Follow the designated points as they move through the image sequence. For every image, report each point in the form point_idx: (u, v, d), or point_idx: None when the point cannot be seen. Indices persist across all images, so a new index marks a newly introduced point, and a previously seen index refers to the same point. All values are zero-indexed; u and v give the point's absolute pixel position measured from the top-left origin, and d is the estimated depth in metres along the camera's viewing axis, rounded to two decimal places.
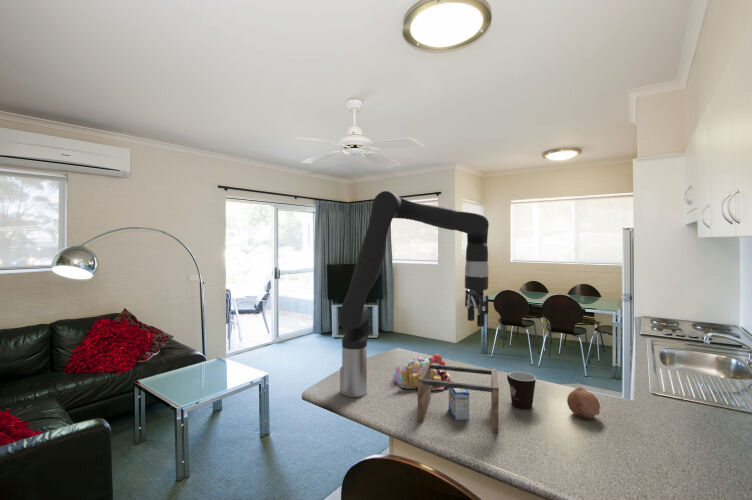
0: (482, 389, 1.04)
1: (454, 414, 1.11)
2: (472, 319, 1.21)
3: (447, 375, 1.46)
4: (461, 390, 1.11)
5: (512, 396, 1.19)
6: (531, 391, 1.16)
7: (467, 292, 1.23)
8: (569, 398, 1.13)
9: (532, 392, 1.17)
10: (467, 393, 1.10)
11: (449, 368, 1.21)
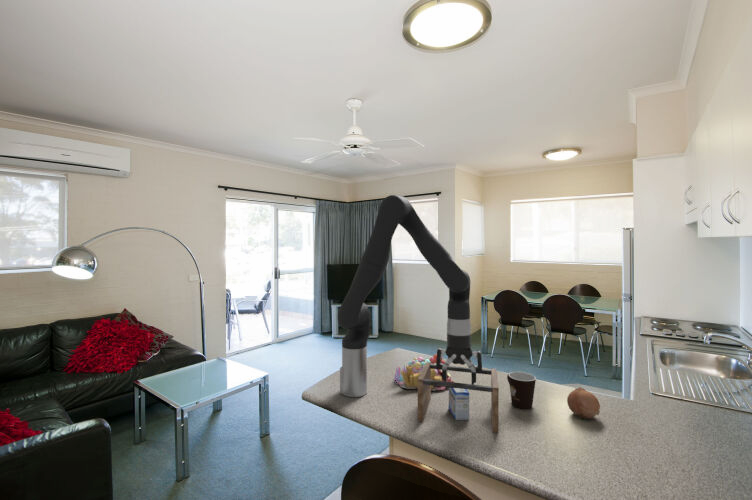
0: (482, 389, 1.04)
1: (454, 414, 1.11)
2: (446, 379, 1.15)
3: (448, 375, 1.46)
4: (461, 390, 1.11)
5: (512, 396, 1.19)
6: (531, 391, 1.16)
7: (440, 351, 1.14)
8: (569, 398, 1.13)
9: (532, 392, 1.17)
10: (467, 393, 1.10)
11: (449, 368, 1.21)
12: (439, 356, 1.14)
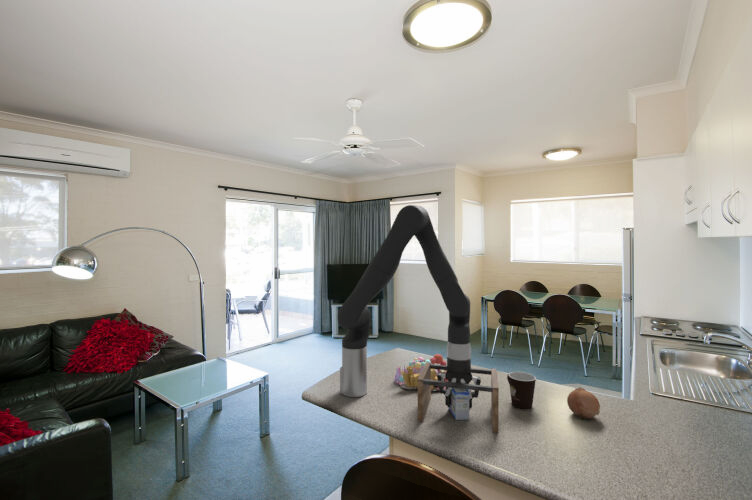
0: (482, 389, 1.04)
1: (454, 414, 1.11)
2: None
3: None
4: (461, 390, 1.11)
5: (512, 396, 1.19)
6: (531, 391, 1.16)
7: (440, 377, 1.14)
8: (569, 398, 1.13)
9: (532, 392, 1.17)
10: (467, 393, 1.10)
11: None
12: None
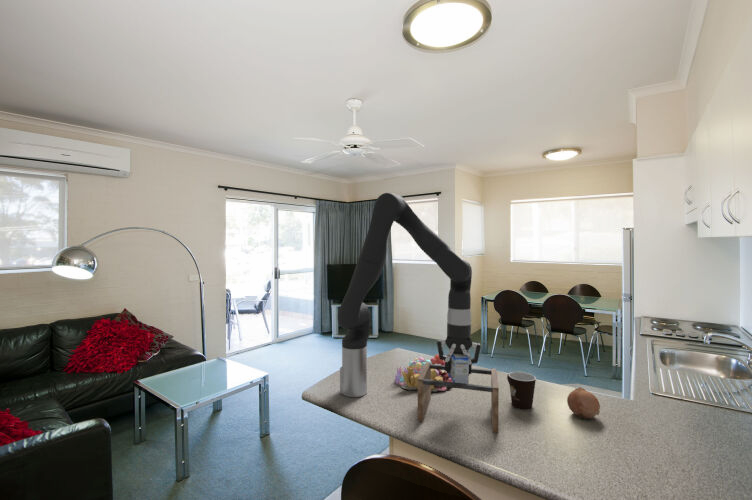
0: (482, 389, 1.04)
1: (453, 379, 1.11)
2: (449, 371, 1.15)
3: None
4: (460, 356, 1.11)
5: (512, 396, 1.19)
6: (531, 391, 1.16)
7: (440, 343, 1.14)
8: (569, 398, 1.13)
9: (532, 392, 1.17)
10: (467, 358, 1.10)
11: None
12: (440, 348, 1.14)
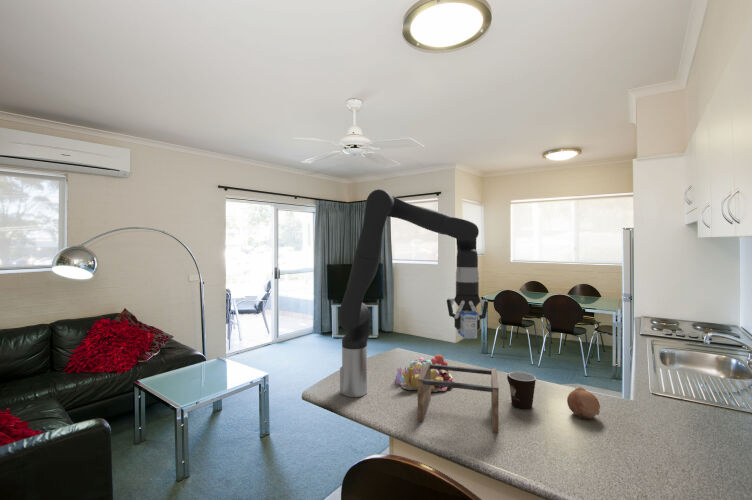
0: (482, 389, 1.04)
1: (463, 334, 1.17)
2: None
3: (449, 376, 1.45)
4: (469, 311, 1.17)
5: (512, 396, 1.19)
6: (531, 391, 1.16)
7: (450, 301, 1.21)
8: (569, 398, 1.13)
9: (532, 392, 1.17)
10: (475, 313, 1.16)
11: (449, 368, 1.21)
12: (450, 305, 1.21)
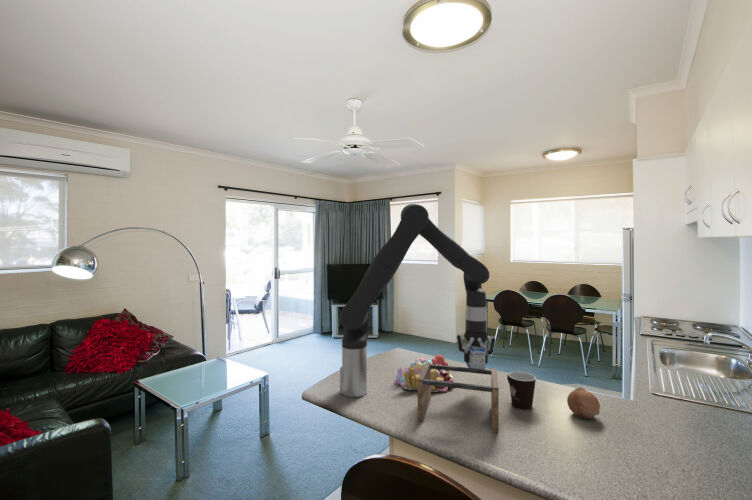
0: (482, 389, 1.04)
1: None
2: None
3: (450, 376, 1.45)
4: (478, 348, 1.27)
5: (512, 396, 1.19)
6: (531, 391, 1.16)
7: (460, 337, 1.31)
8: (569, 398, 1.13)
9: (532, 392, 1.17)
10: (483, 349, 1.26)
11: (449, 368, 1.21)
12: (460, 341, 1.31)
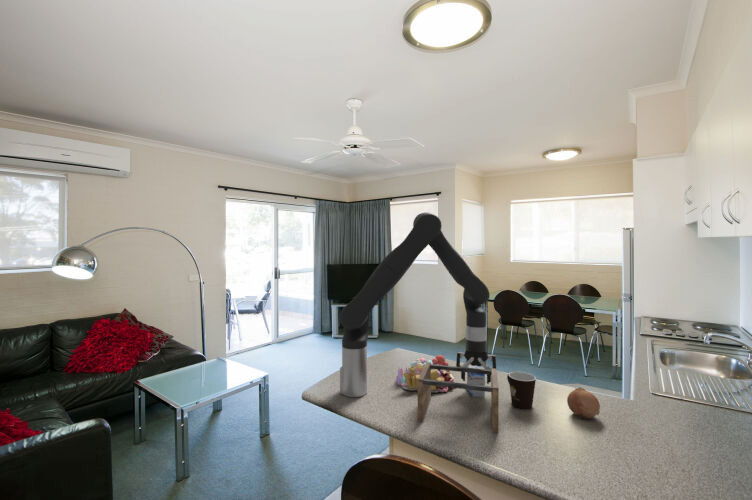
0: (482, 389, 1.04)
1: (471, 392, 1.28)
2: None
3: (450, 376, 1.44)
4: None
5: (512, 396, 1.19)
6: (531, 391, 1.16)
7: (460, 355, 1.31)
8: (569, 398, 1.13)
9: (532, 392, 1.17)
10: (483, 374, 1.26)
11: (449, 368, 1.21)
12: (459, 359, 1.31)
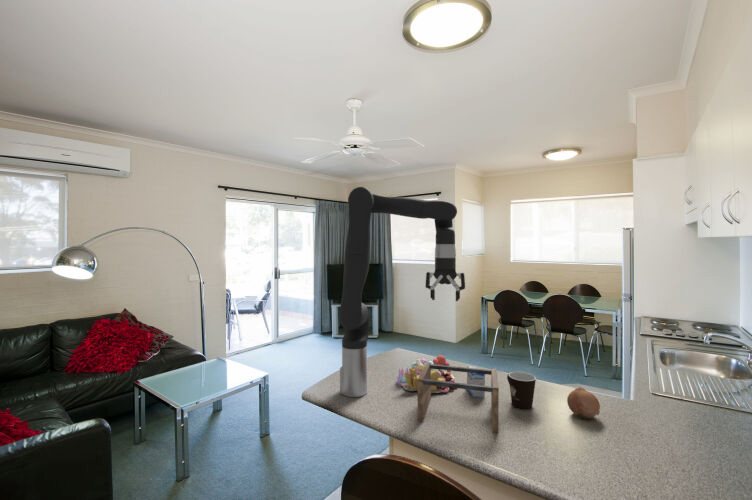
0: (482, 389, 1.04)
1: (471, 392, 1.28)
2: (434, 298, 1.32)
3: (451, 377, 1.44)
4: None
5: (512, 396, 1.19)
6: (531, 391, 1.16)
7: (429, 274, 1.31)
8: (569, 398, 1.13)
9: (532, 392, 1.17)
10: (483, 374, 1.26)
11: (449, 368, 1.21)
12: (428, 278, 1.31)
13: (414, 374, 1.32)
